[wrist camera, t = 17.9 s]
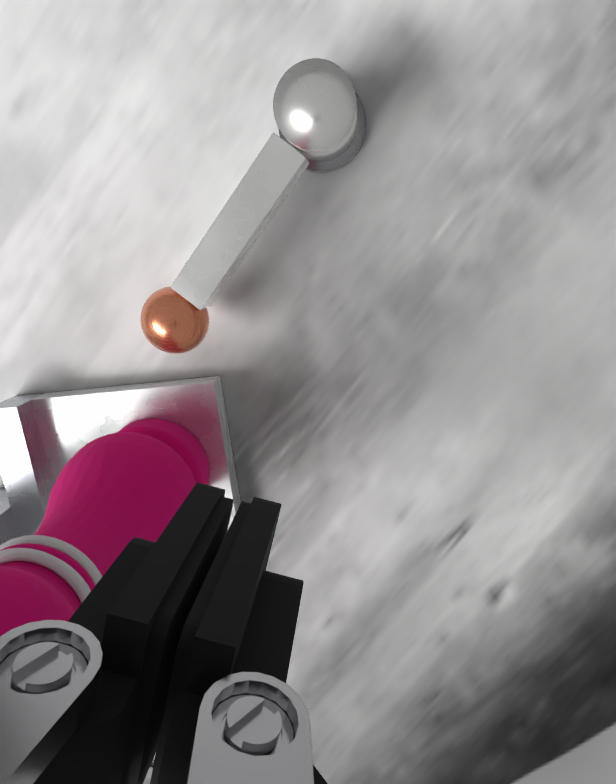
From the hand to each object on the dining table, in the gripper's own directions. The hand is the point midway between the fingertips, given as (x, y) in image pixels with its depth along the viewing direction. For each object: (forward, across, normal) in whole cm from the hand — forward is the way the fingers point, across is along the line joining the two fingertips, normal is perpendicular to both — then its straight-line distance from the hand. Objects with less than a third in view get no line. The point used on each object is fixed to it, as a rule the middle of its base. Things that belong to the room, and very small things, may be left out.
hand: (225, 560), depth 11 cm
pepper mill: (+21, +7, +9) cm, 24 cm away
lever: (+21, +5, -6) cm, 23 cm away
